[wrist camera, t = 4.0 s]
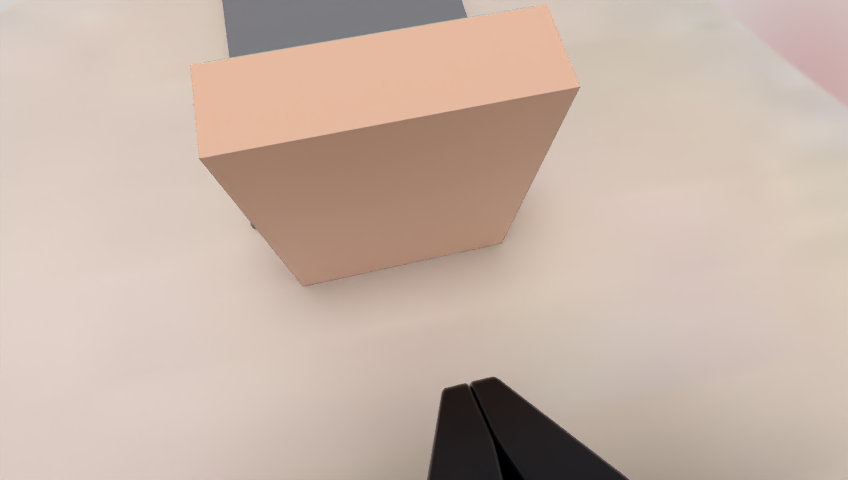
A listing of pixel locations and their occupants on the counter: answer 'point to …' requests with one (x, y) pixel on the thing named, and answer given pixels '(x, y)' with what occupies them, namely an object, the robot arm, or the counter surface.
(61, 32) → the counter surface
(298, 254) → the tile
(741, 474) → the counter surface
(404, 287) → the counter surface
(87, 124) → the counter surface
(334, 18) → the mat
